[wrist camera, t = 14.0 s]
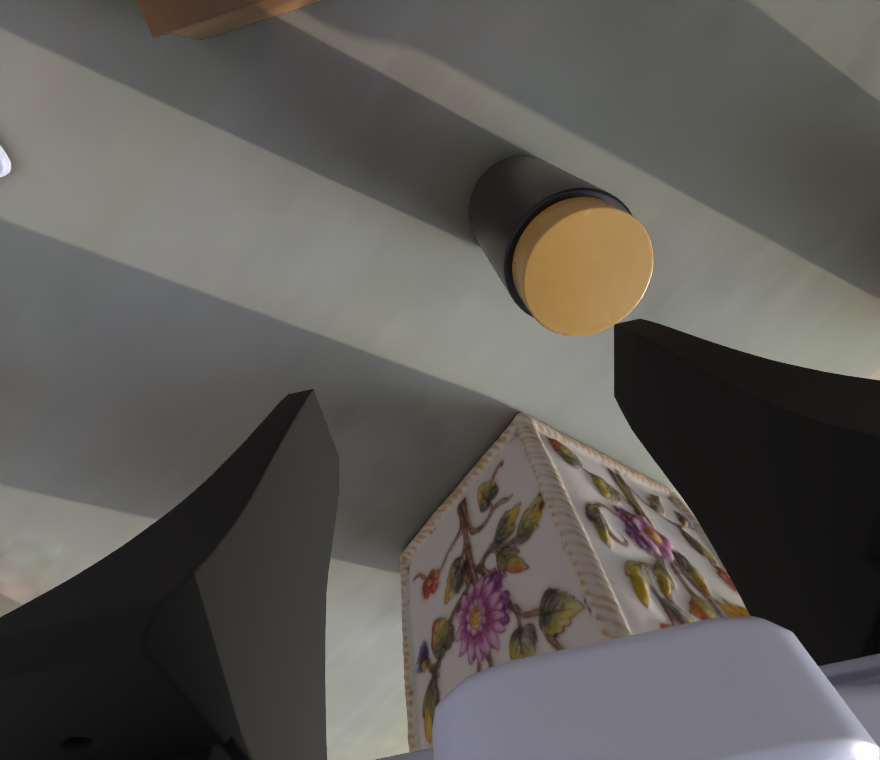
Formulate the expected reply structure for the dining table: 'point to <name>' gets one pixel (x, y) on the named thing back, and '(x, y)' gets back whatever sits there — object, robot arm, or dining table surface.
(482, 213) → the pepper shaker
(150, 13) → the open wooden box
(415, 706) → the decorative jar
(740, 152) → the dining table surface
